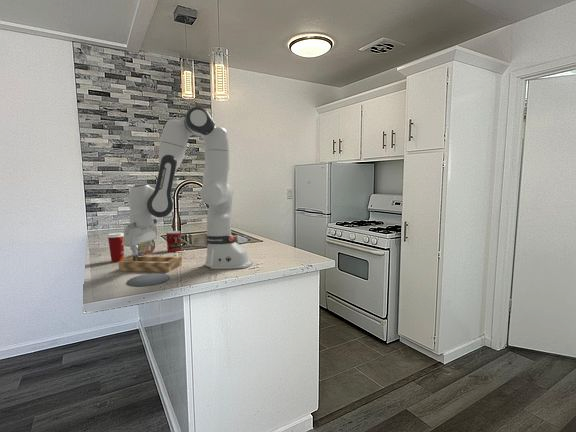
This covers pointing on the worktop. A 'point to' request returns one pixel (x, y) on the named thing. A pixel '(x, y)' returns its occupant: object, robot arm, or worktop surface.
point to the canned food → (173, 241)
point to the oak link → (151, 264)
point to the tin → (142, 248)
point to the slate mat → (148, 279)
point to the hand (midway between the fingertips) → (141, 252)
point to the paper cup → (116, 246)
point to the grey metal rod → (136, 256)
